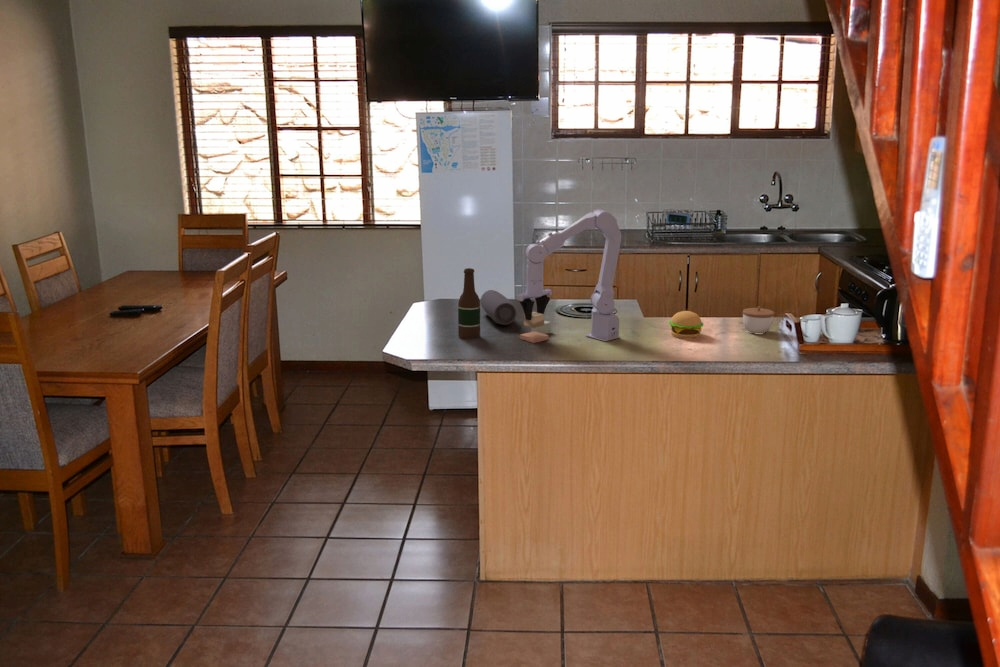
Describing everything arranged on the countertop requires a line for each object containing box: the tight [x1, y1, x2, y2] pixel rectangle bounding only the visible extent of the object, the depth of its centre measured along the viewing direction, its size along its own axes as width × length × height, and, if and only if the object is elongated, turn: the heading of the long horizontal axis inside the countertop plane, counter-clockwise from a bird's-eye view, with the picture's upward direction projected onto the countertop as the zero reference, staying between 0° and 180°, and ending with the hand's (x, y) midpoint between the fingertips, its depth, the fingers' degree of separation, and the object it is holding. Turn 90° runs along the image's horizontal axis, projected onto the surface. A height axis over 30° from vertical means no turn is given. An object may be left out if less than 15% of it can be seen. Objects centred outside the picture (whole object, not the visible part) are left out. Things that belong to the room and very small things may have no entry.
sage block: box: [530, 320, 552, 335], centre depth 317 cm, size 5×5×4 cm
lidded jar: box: [742, 306, 775, 334], centre depth 318 cm, size 11×11×9 cm
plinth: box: [519, 331, 549, 344], centre depth 308 cm, size 7×7×2 cm
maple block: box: [523, 311, 545, 328], centre depth 307 cm, size 5×5×4 cm
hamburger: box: [668, 310, 704, 339], centre depth 313 cm, size 12×12×9 cm
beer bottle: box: [457, 267, 481, 340], centre depth 308 cm, size 8×8×24 cm
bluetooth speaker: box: [480, 289, 517, 326], centre depth 333 cm, size 23×9×10 cm, turn 14°
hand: (534, 318), depth 307 cm, fingers closed on maple block, 5 cm apart
